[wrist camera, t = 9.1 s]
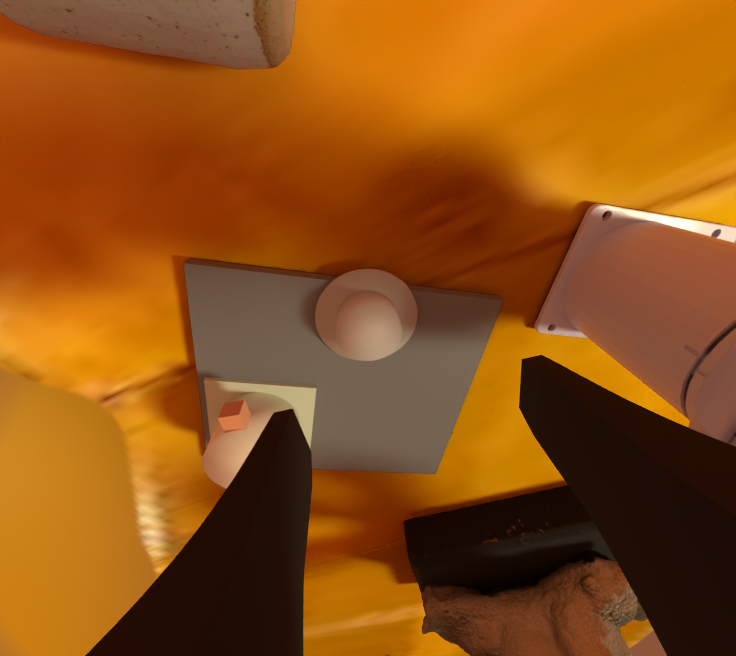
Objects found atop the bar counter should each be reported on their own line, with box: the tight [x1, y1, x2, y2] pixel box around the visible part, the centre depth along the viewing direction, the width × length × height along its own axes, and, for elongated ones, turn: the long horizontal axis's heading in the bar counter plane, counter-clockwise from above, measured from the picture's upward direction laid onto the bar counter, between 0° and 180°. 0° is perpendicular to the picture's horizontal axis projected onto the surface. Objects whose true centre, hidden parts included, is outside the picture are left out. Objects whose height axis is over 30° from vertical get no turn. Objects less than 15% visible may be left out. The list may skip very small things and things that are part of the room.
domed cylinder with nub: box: [202, 392, 299, 489], centre depth 21 cm, size 6×5×4 cm
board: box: [183, 258, 503, 474], centre depth 22 cm, size 18×17×3 cm
